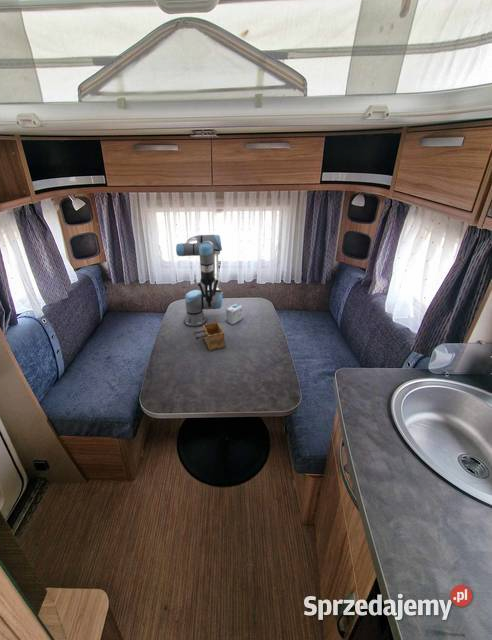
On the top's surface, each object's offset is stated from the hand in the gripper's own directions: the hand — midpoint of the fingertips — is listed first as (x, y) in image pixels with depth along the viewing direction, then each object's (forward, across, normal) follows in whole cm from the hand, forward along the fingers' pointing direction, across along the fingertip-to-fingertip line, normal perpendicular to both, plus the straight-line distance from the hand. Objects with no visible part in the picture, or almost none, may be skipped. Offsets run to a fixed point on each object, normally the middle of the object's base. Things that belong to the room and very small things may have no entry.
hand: (209, 305), depth 174 cm
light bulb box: (+28, +23, +19) cm, 41 cm away
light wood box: (+22, +6, -1) cm, 23 cm away
